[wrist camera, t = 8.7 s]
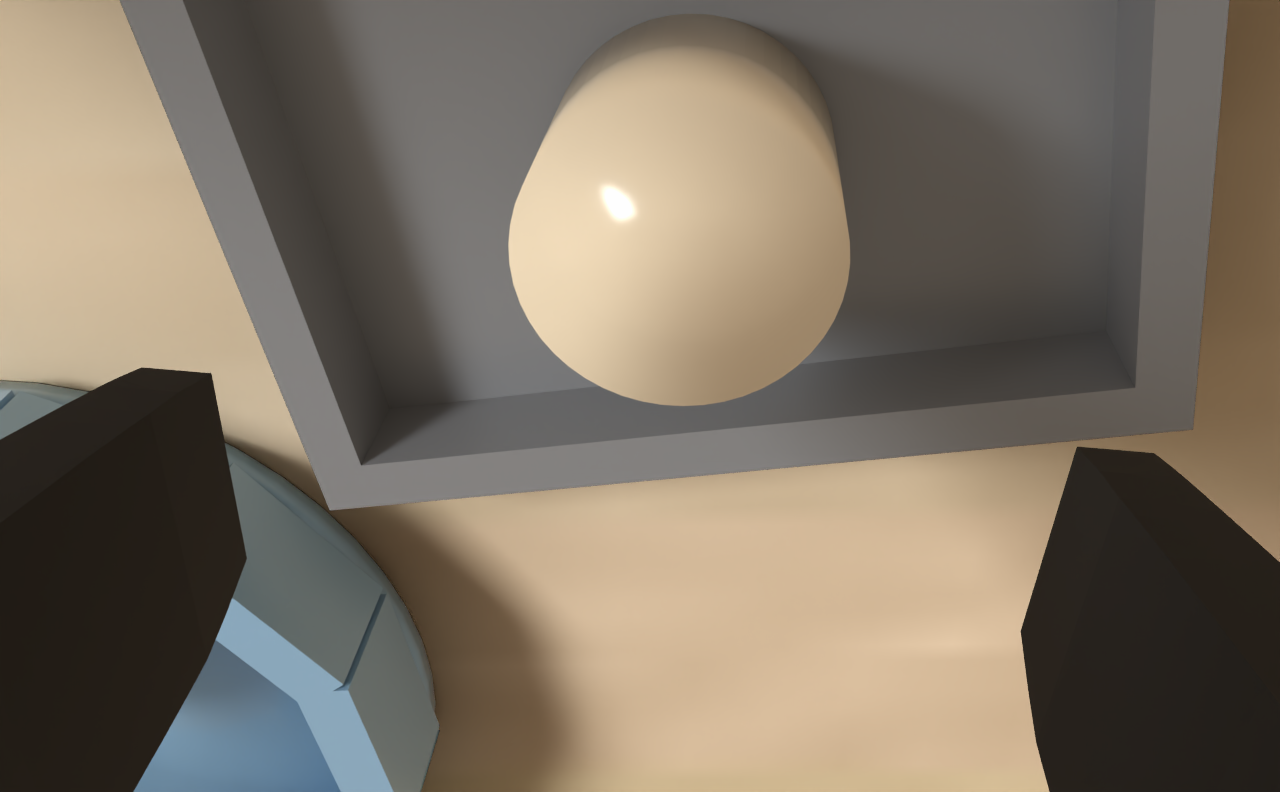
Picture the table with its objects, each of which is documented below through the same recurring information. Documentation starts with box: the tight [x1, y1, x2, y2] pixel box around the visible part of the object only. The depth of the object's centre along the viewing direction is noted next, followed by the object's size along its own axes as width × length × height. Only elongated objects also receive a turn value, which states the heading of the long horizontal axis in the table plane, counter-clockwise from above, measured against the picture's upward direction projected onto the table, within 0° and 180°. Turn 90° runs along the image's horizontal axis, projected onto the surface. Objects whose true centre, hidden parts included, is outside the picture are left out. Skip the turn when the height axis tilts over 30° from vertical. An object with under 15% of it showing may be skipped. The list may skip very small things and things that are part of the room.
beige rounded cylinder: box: [508, 14, 850, 406], centre depth 15 cm, size 4×4×3 cm
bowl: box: [0, 381, 440, 792], centre depth 23 cm, size 14×14×3 cm
